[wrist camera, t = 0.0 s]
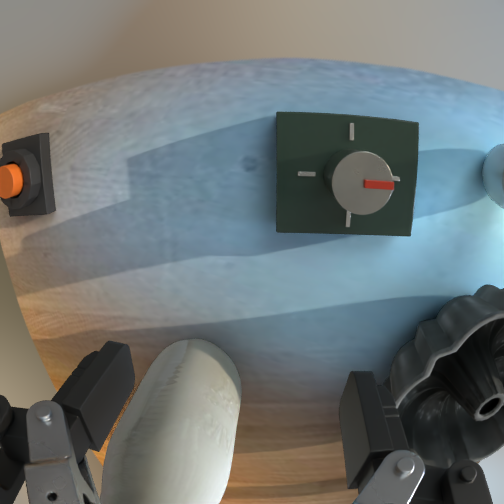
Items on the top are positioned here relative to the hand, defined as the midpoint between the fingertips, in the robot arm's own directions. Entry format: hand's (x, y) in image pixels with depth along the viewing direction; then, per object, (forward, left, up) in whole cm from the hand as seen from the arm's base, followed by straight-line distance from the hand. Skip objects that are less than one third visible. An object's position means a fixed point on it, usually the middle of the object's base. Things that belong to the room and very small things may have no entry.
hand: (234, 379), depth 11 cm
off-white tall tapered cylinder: (+9, -15, -21) cm, 27 cm away
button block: (-21, -18, -21) cm, 35 cm away
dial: (0, +9, -18) cm, 20 cm away
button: (-21, -18, -17) cm, 33 cm away
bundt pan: (+28, +11, -21) cm, 37 cm away
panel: (0, +9, -21) cm, 22 cm away
